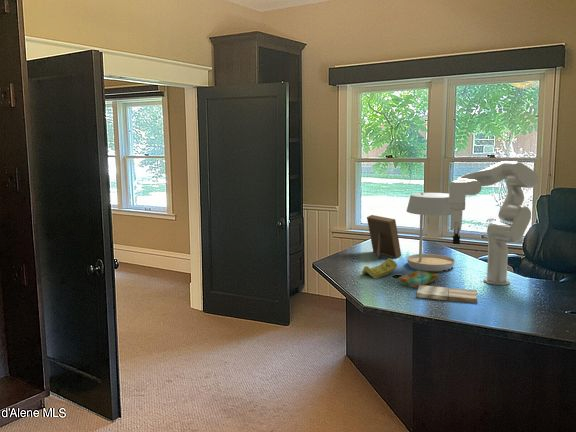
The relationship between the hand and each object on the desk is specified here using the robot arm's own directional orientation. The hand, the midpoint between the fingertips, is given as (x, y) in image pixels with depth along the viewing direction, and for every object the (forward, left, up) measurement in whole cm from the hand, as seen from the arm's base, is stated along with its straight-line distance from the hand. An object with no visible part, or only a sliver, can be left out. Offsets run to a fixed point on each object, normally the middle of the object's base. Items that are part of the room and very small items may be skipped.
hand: (456, 243), depth 255 cm
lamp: (-47, -15, -24) cm, 55 cm away
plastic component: (-21, -40, -24) cm, 51 cm away
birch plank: (+10, -10, -24) cm, 27 cm away
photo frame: (-65, -47, -24) cm, 84 cm away
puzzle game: (-10, -18, -24) cm, 32 cm away
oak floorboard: (+10, +4, -24) cm, 26 cm away
